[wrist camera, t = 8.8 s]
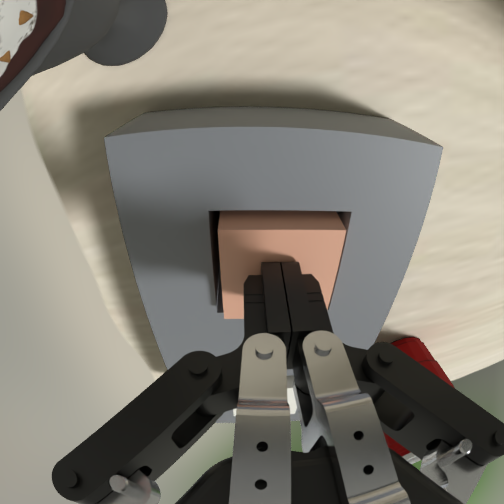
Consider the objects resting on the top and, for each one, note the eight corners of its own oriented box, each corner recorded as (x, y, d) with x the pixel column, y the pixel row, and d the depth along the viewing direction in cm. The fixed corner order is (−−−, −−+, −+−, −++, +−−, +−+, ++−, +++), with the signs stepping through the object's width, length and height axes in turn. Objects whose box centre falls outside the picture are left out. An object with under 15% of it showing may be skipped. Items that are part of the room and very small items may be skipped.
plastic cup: (406, 379, 31) (431, 462, 21) (333, 381, 29) (352, 483, 19) (460, 321, 25) (506, 415, 15) (387, 315, 23) (434, 444, 13)
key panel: (391, 119, 14) (443, 147, 10) (324, 373, 28) (332, 416, 24) (144, 113, 13) (104, 137, 9) (194, 376, 27) (190, 421, 23)
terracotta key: (322, 187, 14) (346, 230, 11) (311, 264, 17) (325, 316, 14) (223, 186, 14) (217, 230, 11) (226, 265, 17) (224, 318, 14)
